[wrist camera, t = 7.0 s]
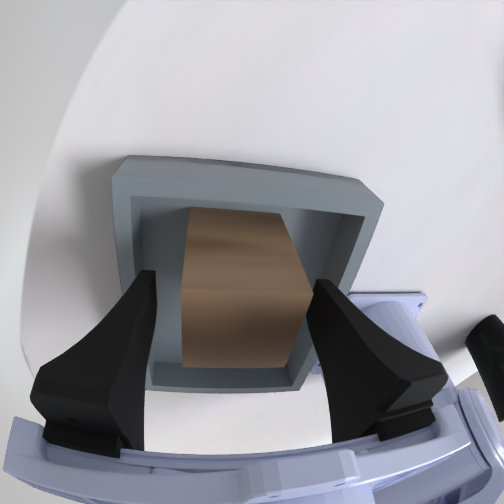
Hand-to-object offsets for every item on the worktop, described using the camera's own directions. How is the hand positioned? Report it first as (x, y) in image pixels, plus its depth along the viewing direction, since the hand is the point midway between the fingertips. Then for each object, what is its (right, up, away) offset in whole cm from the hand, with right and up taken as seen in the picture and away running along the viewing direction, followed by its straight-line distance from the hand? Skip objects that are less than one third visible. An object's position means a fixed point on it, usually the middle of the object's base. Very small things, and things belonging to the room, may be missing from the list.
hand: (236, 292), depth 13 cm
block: (0, +2, +3) cm, 4 cm away
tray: (-1, -1, +5) cm, 6 cm away
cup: (+30, -8, +15) cm, 34 cm away
